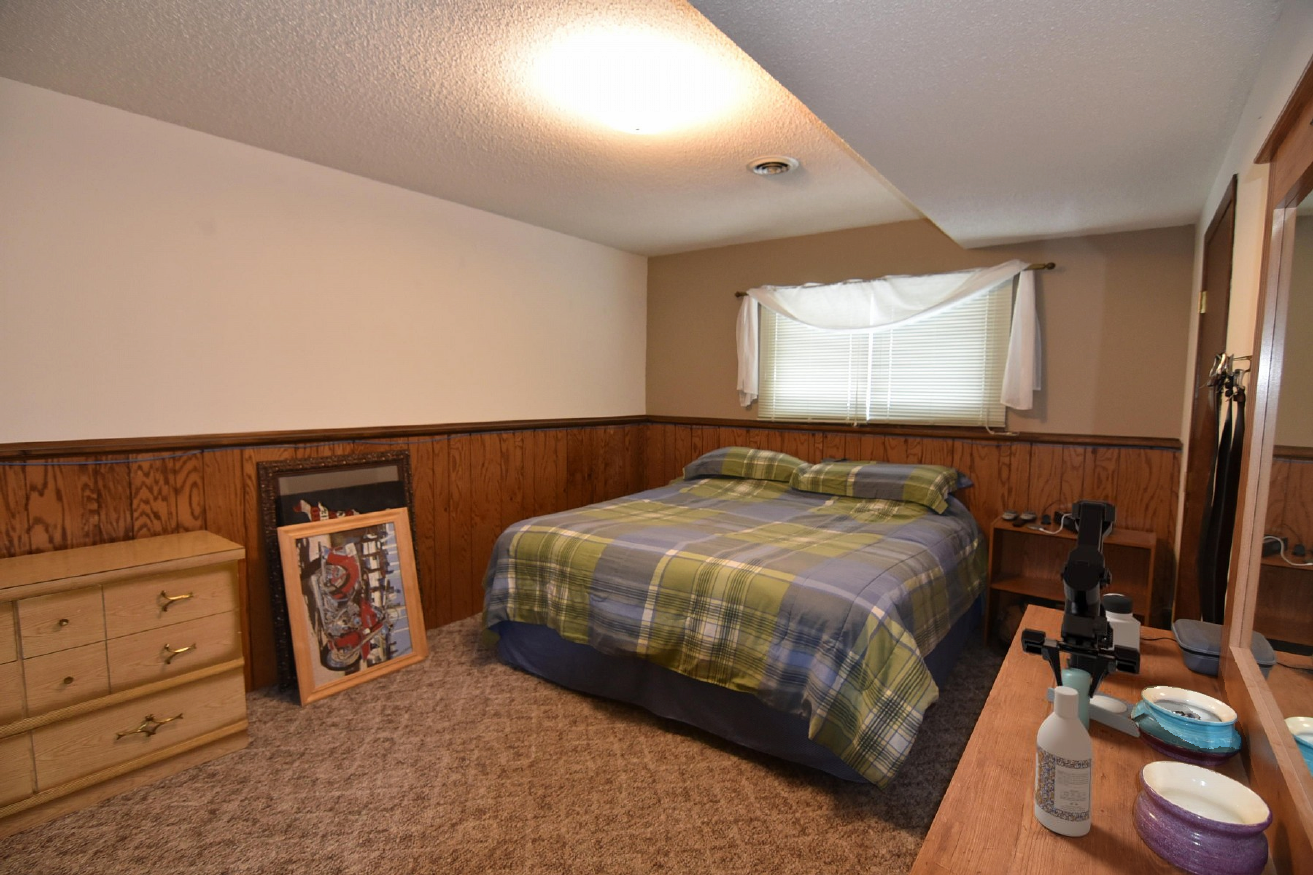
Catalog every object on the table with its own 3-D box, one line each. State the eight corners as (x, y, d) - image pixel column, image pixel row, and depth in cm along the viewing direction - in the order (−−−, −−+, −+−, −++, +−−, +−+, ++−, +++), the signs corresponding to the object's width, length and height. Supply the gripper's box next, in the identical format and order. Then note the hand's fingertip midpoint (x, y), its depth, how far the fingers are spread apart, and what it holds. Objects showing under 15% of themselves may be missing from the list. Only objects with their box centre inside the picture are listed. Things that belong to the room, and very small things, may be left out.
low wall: (1046, 699, 130) (1047, 687, 130) (1049, 698, 131) (1049, 686, 130) (1137, 737, 116) (1137, 724, 116) (1139, 736, 117) (1139, 722, 116)
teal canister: (1059, 716, 124) (1060, 665, 123) (1087, 721, 122) (1089, 670, 121) (1061, 728, 120) (1063, 675, 119) (1090, 733, 118) (1092, 680, 117)
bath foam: (1039, 800, 100) (1043, 674, 98) (1093, 819, 95) (1098, 688, 94) (1029, 824, 95) (1034, 692, 93) (1086, 845, 90) (1092, 707, 88)
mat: (1068, 705, 128) (1068, 699, 128) (1093, 693, 132) (1094, 688, 132) (1119, 726, 120) (1119, 720, 120) (1144, 713, 124) (1144, 707, 124)
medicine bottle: (1140, 652, 151) (1142, 601, 150) (1105, 650, 153) (1107, 600, 151) (1124, 640, 158) (1126, 591, 157) (1091, 638, 160) (1093, 590, 158)
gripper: (1023, 587, 127) (1013, 662, 119) (1142, 605, 116) (1140, 689, 108) (1027, 614, 134) (1018, 687, 127) (1140, 634, 123) (1138, 714, 115)
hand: (1075, 693), depth 119 cm, fingers closed on teal canister, 4 cm apart
